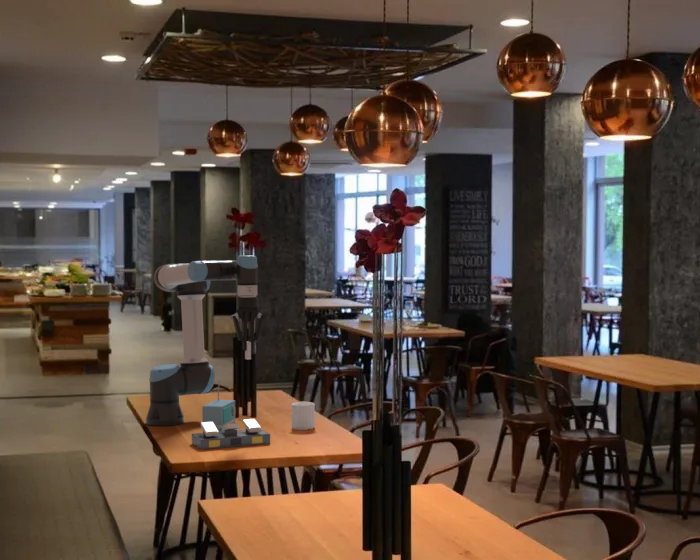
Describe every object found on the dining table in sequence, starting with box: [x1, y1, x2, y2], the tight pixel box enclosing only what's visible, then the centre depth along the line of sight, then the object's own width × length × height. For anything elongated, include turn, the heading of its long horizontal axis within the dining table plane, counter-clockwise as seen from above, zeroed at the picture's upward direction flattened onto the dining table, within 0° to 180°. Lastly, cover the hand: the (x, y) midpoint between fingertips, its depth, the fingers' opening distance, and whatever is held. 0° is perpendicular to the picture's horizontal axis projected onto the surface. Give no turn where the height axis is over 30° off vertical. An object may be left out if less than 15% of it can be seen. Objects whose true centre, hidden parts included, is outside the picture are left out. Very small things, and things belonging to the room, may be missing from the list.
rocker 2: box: [222, 422, 241, 431], centre depth 367 cm, size 8×4×2 cm, turn 24°
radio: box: [201, 379, 237, 432], centre depth 386 cm, size 16×9×20 cm, turn 169°
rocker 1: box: [200, 421, 219, 437], centre depth 364 cm, size 8×4×2 cm, turn 24°
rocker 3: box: [242, 418, 262, 433], centre depth 370 cm, size 8×4×2 cm, turn 24°
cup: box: [291, 401, 316, 431], centre depth 397 cm, size 10×10×10 cm
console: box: [191, 428, 271, 450], centre depth 367 cm, size 12×26×5 cm, turn 114°
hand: (248, 359), depth 379 cm, fingers closed
